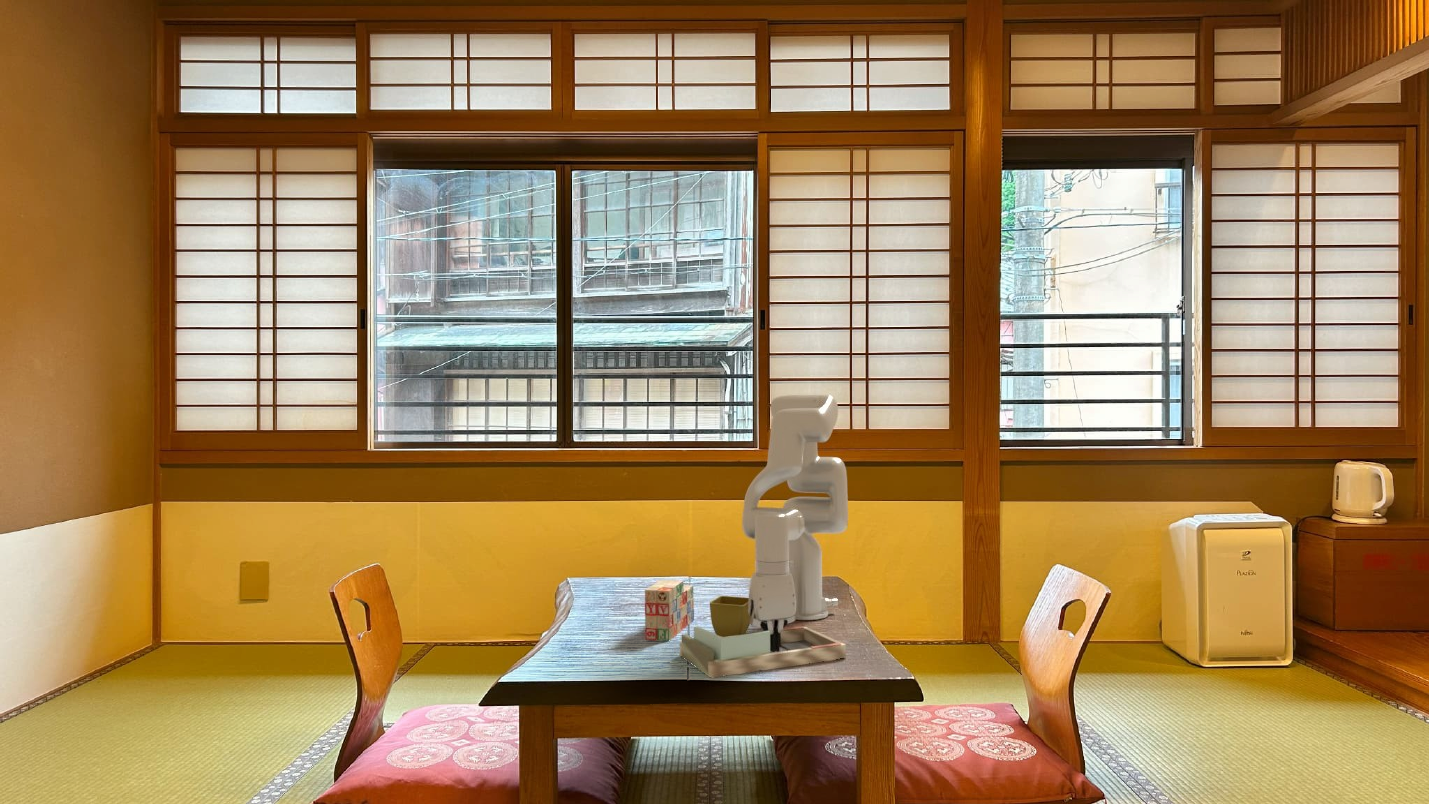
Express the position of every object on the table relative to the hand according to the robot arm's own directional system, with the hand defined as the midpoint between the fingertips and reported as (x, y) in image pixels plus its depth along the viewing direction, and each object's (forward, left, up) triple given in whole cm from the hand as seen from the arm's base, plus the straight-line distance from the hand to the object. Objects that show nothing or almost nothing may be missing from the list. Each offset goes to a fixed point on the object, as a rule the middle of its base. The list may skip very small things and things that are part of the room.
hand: (773, 650), depth 185 cm
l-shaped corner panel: (+11, +2, -1) cm, 11 cm away
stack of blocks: (+13, -31, -2) cm, 34 cm away
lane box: (+3, 0, -1) cm, 3 cm away
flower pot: (+2, -18, -1) cm, 18 cm away
